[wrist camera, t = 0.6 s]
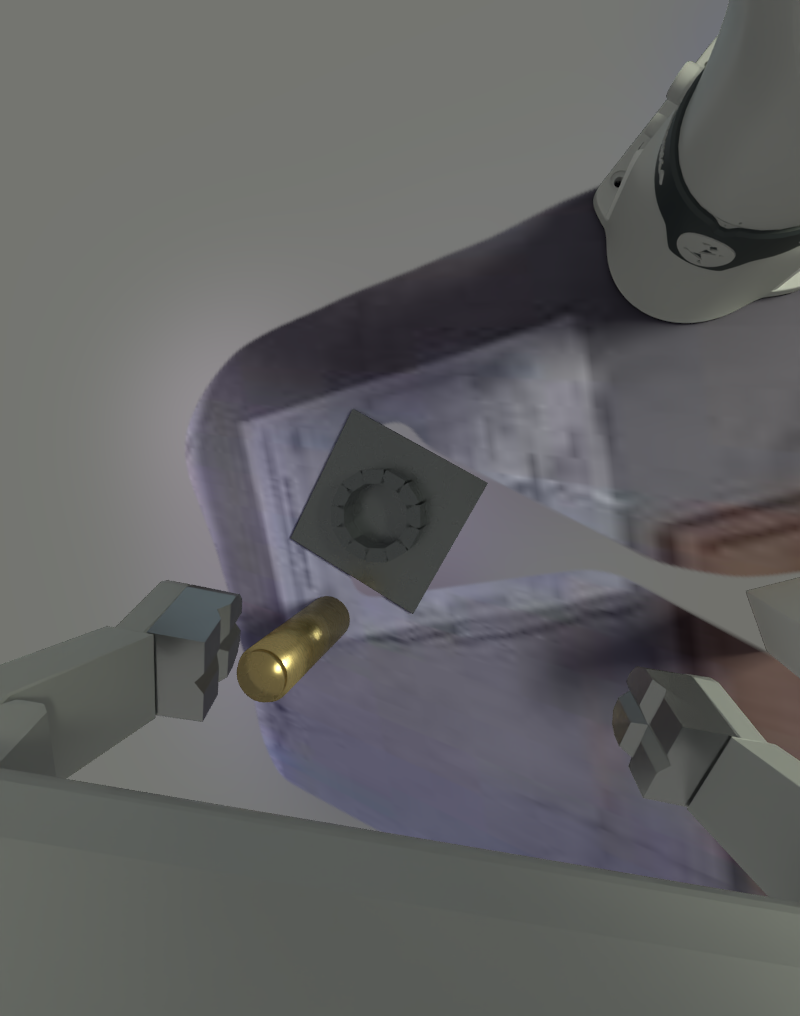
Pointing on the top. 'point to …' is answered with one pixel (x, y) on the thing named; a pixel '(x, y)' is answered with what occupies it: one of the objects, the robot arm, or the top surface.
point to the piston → (291, 650)
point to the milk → (779, 620)
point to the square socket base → (387, 510)
